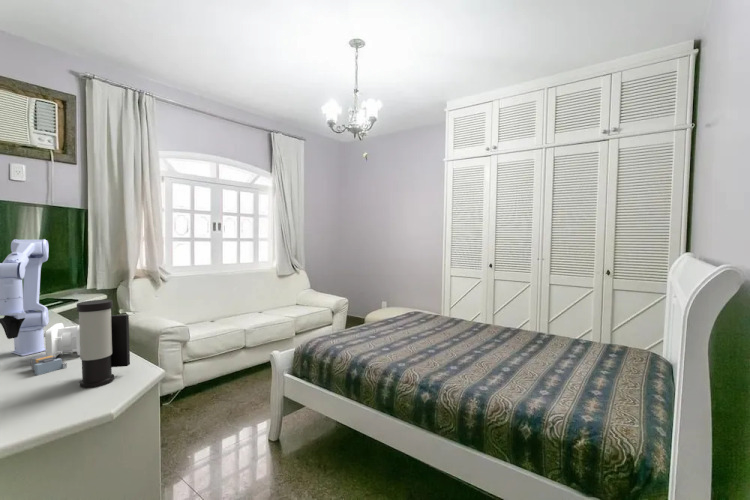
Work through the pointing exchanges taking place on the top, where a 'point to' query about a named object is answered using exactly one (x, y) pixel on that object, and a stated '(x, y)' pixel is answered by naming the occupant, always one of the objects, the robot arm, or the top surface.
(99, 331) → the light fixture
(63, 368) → the rail
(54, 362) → the end clamp
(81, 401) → the top surface
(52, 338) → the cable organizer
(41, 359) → the module
